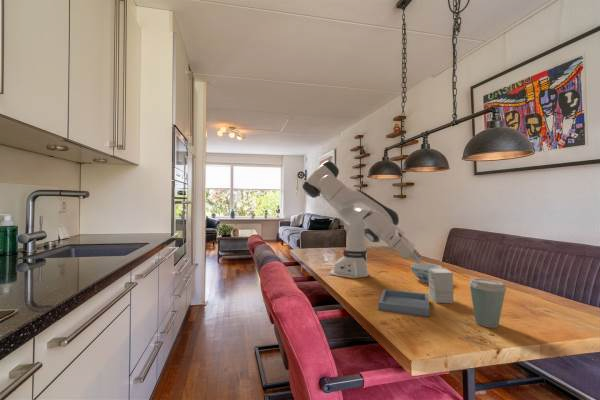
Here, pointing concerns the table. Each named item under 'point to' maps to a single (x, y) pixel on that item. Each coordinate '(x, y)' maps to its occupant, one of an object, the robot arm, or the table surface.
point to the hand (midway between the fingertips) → (420, 259)
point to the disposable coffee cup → (487, 301)
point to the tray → (404, 302)
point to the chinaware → (423, 270)
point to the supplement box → (441, 285)
